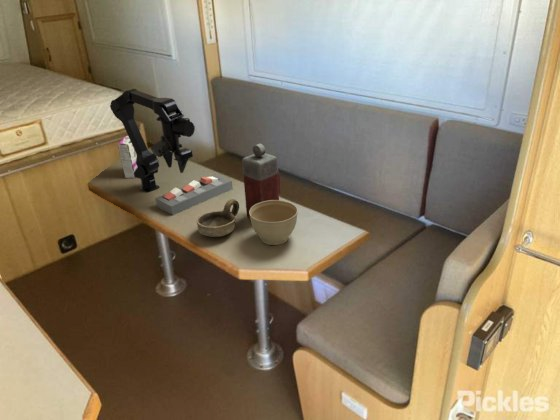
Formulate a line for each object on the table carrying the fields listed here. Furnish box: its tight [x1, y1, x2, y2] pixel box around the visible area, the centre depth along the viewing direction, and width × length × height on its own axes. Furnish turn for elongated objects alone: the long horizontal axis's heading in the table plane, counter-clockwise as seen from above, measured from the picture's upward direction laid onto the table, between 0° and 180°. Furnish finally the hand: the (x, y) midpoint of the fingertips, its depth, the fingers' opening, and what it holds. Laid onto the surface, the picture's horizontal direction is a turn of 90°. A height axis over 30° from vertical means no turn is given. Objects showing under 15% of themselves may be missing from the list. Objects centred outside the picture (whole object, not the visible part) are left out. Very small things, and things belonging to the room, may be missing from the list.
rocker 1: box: [163, 186, 183, 201], centre depth 187 cm, size 4×6×2 cm, turn 136°
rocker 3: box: [199, 176, 218, 184], centre depth 198 cm, size 4×6×2 cm, turn 136°
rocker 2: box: [182, 179, 201, 193], centre depth 192 cm, size 4×6×2 cm, turn 136°
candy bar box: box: [117, 135, 138, 179], centre depth 214 cm, size 11×5×16 cm, turn 179°
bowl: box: [196, 198, 240, 238], centre depth 166 cm, size 14×18×10 cm
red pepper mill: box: [241, 143, 282, 218], centre depth 171 cm, size 9×11×28 cm
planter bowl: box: [249, 199, 299, 246], centre depth 160 cm, size 16×16×11 cm
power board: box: [155, 173, 233, 216], centre depth 192 cm, size 11×30×4 cm, turn 136°
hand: (175, 170), depth 189 cm, fingers open, 8 cm apart
